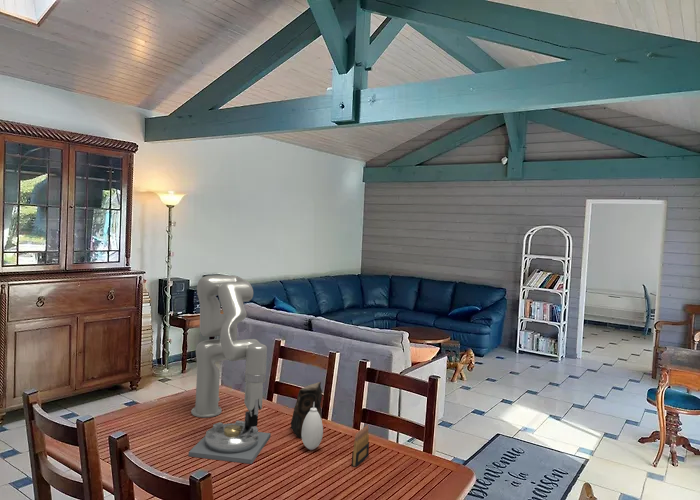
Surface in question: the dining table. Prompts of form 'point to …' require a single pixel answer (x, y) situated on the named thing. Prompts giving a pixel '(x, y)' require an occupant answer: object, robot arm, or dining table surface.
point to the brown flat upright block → (360, 446)
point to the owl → (306, 406)
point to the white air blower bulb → (312, 429)
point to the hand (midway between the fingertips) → (252, 425)
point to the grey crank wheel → (232, 436)
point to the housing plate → (242, 457)
